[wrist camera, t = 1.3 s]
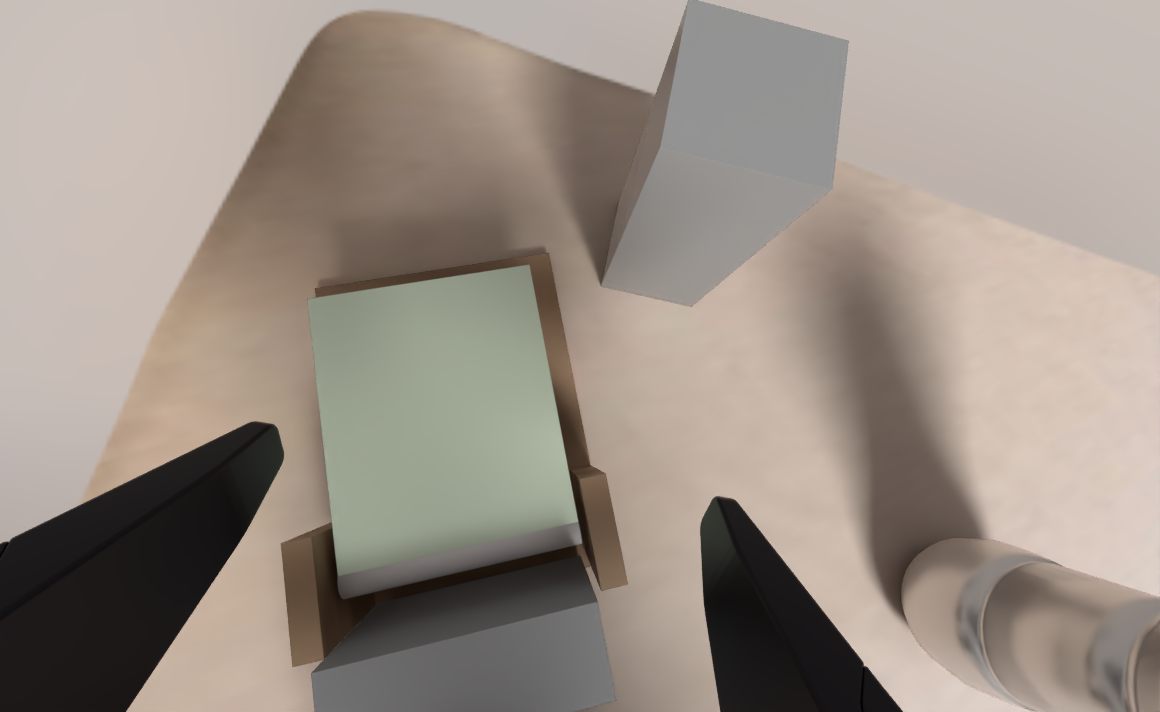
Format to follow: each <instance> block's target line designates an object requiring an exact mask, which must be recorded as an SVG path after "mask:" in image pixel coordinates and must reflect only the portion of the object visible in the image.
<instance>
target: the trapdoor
mask: <svg viewBox="0 0 1160 712" xmlns="http://www.w3.org/2000/svg"><path fill="white" fill-rule="evenodd" d="M307 302H308V311H309V320H310V329H311V338H312V348H313V357H314V366H315V375H316V384H317V393H318V402H319V411H320V420H321V429H322V438H323V447H324V456H325V465H326V474H327V483H328V492H329V501H330V510H331V519H332V528H333V537H334V546H335V555H336V564H337V573H338V581H337V583H338V591H339V594H340V596H341V598H342V599H347V598H352V597H356V596H360V595H364V594H369V593H373V592H377V591H382V590H386V589H390V588H394V587H399V586H403V585H407V584H412V583H416V582H420V581H424V580H429V579H433V578H437V577H442V576H446V575H450V574H454V573H459V572H463V571H467V570H472V569H476V568H480V567H484V566H489V565H493V564H497V563H502V562H506V561H510V560H514V559H519V558H523V557H527V556H532V555H536V554H540V553H544V552H549V551H553V550H557V549H562V548H566V547H570V546H574V545H579V544H582V539H581V533H580V528H579V523H578V518H577V512H576V507H575V502H574V497H573V491H572V486H571V481H570V476H569V470H568V465H567V460H566V455H565V449H564V444H563V439H562V434H561V428H560V423H559V418H558V413H557V407H556V402H555V397H554V391H553V386H552V381H551V376H550V370H549V365H548V360H547V355H546V349H545V344H544V339H543V334H542V328H541V323H540V318H539V313H538V307H537V302H536V297H535V292H534V286H533V281H532V276H531V271H530V265H524V266H517V267H511V268H504V269H498V270H492V271H485V272H479V273H472V274H466V275H459V276H453V277H446V278H440V279H433V280H427V281H420V282H414V283H408V284H401V285H395V286H388V287H382V288H375V289H369V290H362V291H356V292H349V293H343V294H336V295H330V296H324V297H317V298H311V299H307ZM311 678H312V688H313V698H314V708H315V712H577V711H580V710H584V709H587V708H591V707H595V706H598V705H602V704H605V703H609V702H612V701H616V696H615V690H614V685H613V680H612V675H611V669H610V664H609V659H608V654H607V649H606V643H605V638H604V633H603V628H602V622H601V617H600V612H599V607H598V602H597V599H596V596H595V593H594V591H593V588H592V585H591V583H590V580H589V577H588V574H587V572H586V569H585V566H584V563H583V561H582V558H581V555H580V556H576V557H572V558H568V559H563V560H559V561H555V562H551V563H546V564H542V565H538V566H534V567H530V568H525V569H521V570H517V571H513V572H508V573H504V574H500V575H496V576H491V577H487V578H483V579H479V580H475V581H470V582H466V583H462V584H458V585H453V586H449V587H445V588H441V589H436V590H432V591H428V592H424V593H420V594H415V595H411V596H407V597H403V598H398V599H394V600H390V601H386V602H381V603H378V604H377V605H376V606H375V607H374V608H373V609H372V610H371V611H370V612H369V613H368V614H367V615H366V616H365V617H364V618H363V619H362V621H361V622H360V623H359V624H358V625H357V626H356V627H355V628H354V629H353V630H352V631H351V632H350V633H349V634H348V635H347V636H346V637H345V638H344V639H343V640H342V642H341V643H340V644H339V645H338V646H337V647H336V648H335V649H334V650H333V651H332V652H331V653H330V654H329V655H328V656H327V657H326V658H325V659H324V660H323V661H322V662H321V664H320V665H319V666H318V667H317V668H316V669H315V670H314V671H313V672H312V673H311Z"/></svg>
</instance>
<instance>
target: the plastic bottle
mask: <svg viewBox="0 0 1160 712" xmlns="http://www.w3.org/2000/svg"><path fill="white" fill-rule="evenodd" d="M901 599H902V606H903V611H904V614H905V617H906V619H907V622H908V624H909V626H910V629H911V631H912V633H913V635H914V637H915V638H916V640H917V642H918V643H919V645H920V646H921V647H922V648H923V649H924V651H925V652H926V653H927V654H928V655H929V656H930V657H931V658H933V659H934V660H935V661H936V662H938V663H939V664H940V665H941V666H943V667H944V668H945V669H946V670H948V671H949V672H950V673H952V674H953V675H954V676H955V677H957V678H958V679H959V680H961V681H962V682H963V683H965V684H967V685H969V686H971V687H972V688H974V689H976V690H979V691H981V692H983V693H986V694H988V695H990V696H993V697H995V698H998V699H1000V700H1002V701H1005V702H1007V703H1010V704H1013V705H1016V706H1019V707H1022V708H1025V709H1028V710H1031V711H1035V712H1160V597H1158V596H1154V595H1151V594H1148V593H1145V592H1141V591H1138V590H1135V589H1132V588H1129V587H1126V586H1123V585H1119V584H1116V583H1113V582H1110V581H1107V580H1104V579H1101V578H1097V577H1094V576H1091V575H1088V574H1085V573H1082V572H1079V571H1075V570H1072V569H1069V568H1066V567H1063V566H1061V565H1059V564H1058V563H1056V562H1053V561H1051V560H1049V559H1047V558H1044V557H1042V556H1040V555H1037V554H1035V553H1032V552H1029V551H1026V550H1023V549H1021V548H1018V547H1015V546H1012V545H1009V544H1006V543H1003V542H999V541H996V540H986V539H969V538H951V539H944V540H942V541H939V542H937V543H934V544H933V545H931V546H929V547H928V548H926V549H925V550H923V551H922V552H920V553H919V554H918V555H917V556H916V557H915V558H914V559H913V560H912V561H911V563H910V564H909V566H908V568H907V569H906V572H905V575H904V578H903V582H902V588H901Z"/></svg>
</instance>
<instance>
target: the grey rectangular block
mask: <svg viewBox="0 0 1160 712" xmlns="http://www.w3.org/2000/svg"><path fill="white" fill-rule="evenodd" d="M848 43H849V41H848V40H844V39H840V38H836V37H833V36H829V35H825V34H821V33H818V32H814V31H810V30H806V29H802V28H799V27H795V26H791V25H788V24H784V23H780V22H776V21H772V20H769V19H765V18H761V17H758V16H754V15H750V14H746V13H743V12H739V11H735V10H731V9H727V8H724V7H720V6H716V5H713V4H709V3H705V2H701V1H698V0H688V3H687V6H686V9H685V12H684V14H683V17H682V20H681V23H680V26H679V29H678V32H677V35H676V37H675V40H674V43H673V46H672V49H671V52H670V55H669V58H668V60H667V64H666V66H665V69H664V72H663V75H662V78H661V81H660V84H659V86H658V89H657V92H656V95H655V98H654V101H653V104H652V107H651V109H650V112H649V115H648V118H647V121H646V124H645V127H644V130H643V132H642V135H641V138H640V141H639V144H638V147H637V150H636V153H635V156H634V158H633V161H632V164H631V167H630V170H629V173H628V176H627V179H626V182H625V184H624V187H623V190H622V193H621V196H620V199H619V202H618V207H617V211H616V216H615V221H614V226H613V231H612V235H611V240H610V245H609V250H608V255H607V260H606V264H605V269H604V274H603V279H602V284H601V286H602V287H607V288H611V289H615V290H620V291H624V292H628V293H633V294H637V295H642V296H646V297H650V298H655V299H659V300H663V301H668V302H672V303H676V304H681V305H685V306H689V307H692V306H693V305H694V304H696V303H697V302H698V301H699V300H700V299H702V298H703V297H704V296H705V295H706V294H708V293H709V292H710V291H711V290H712V289H714V288H715V287H716V286H717V285H718V284H720V283H721V282H722V281H723V280H724V279H725V278H727V277H728V276H729V275H730V274H731V273H733V272H734V271H735V270H736V269H737V268H739V267H740V266H741V265H742V264H743V263H745V262H746V261H747V260H748V259H749V258H751V257H752V256H753V255H754V254H755V253H757V252H758V251H759V250H760V249H761V248H763V247H764V246H765V245H766V244H767V243H768V242H770V241H771V240H772V239H773V238H774V237H776V236H777V235H778V234H779V233H780V232H782V231H783V230H784V229H785V228H786V227H788V226H789V225H790V224H791V223H792V222H794V221H795V220H796V219H797V218H798V217H800V216H801V215H802V214H803V213H804V212H805V211H807V210H808V209H809V208H810V207H811V206H813V205H814V204H815V203H816V202H817V201H819V200H820V199H821V198H822V197H823V196H825V195H826V194H827V193H828V192H829V191H831V190H832V187H833V178H834V169H835V160H836V151H837V142H838V133H839V124H840V115H841V106H842V97H843V88H844V79H845V70H846V61H847V52H848Z"/></svg>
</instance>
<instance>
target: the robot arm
mask: <svg viewBox="0 0 1160 712" xmlns="http://www.w3.org/2000/svg"><path fill="white" fill-rule="evenodd" d="M283 459H284V450H283V447H282V443H281V439H280V435H279V431H278V428H277V427H276V426H275V425H274V424H270V423H263V422H257V421H255V422H250V423H247V424H245V425H243V426H241V427H239V428H237V429H235V430H233V431H231V432H229V433H227V434H225V435H223V436H221V437H219V438H217V439H215V440H213V441H210V442H208V443H206V444H204V445H202V446H200V447H198V448H196V449H194V450H192V451H190V452H188V453H186V454H184V455H182V456H180V457H178V458H176V459H174V460H171V461H169V462H167V463H165V464H163V465H161V466H159V467H157V468H155V469H153V470H151V471H149V472H147V473H145V474H143V475H141V476H139V477H137V478H134V479H132V480H130V481H128V482H126V483H124V484H122V485H120V486H118V487H116V488H114V489H112V490H110V491H108V492H106V493H104V494H102V495H100V496H98V497H95V498H93V499H91V500H89V501H87V502H85V503H83V504H81V505H79V506H77V507H75V508H73V509H71V510H69V511H67V512H65V513H63V514H61V515H59V516H57V517H55V518H52V519H50V520H48V521H46V522H44V523H42V524H40V525H38V526H36V527H34V528H32V529H30V530H28V531H26V532H24V533H22V534H20V535H18V536H15V537H14V538H12V539H11V540H10V542H3V543H1V544H0V712H126V711H127V709H128V708H129V706H130V705H131V704H132V702H133V701H134V699H135V698H136V696H137V695H138V693H139V692H140V690H141V689H142V687H143V686H144V684H145V683H146V681H147V680H148V678H149V677H150V675H151V674H152V672H153V671H154V669H155V668H156V666H157V665H158V663H159V662H160V660H161V659H162V657H163V656H164V654H165V653H166V651H167V650H168V648H169V647H170V645H171V644H172V642H173V641H174V639H175V638H176V636H177V635H178V633H179V632H180V630H181V629H182V627H183V626H184V624H185V623H186V621H187V620H188V618H189V617H190V615H191V614H192V612H193V611H194V609H195V608H196V606H197V605H198V603H199V602H200V600H201V599H202V597H203V596H204V595H205V593H206V592H207V590H208V589H209V587H210V586H211V584H212V583H213V581H214V580H215V578H216V577H217V575H218V574H219V572H220V571H221V569H222V568H223V566H224V565H225V563H226V562H227V560H228V559H229V557H230V556H231V554H232V553H233V551H234V550H235V548H236V547H237V545H238V544H239V542H240V540H241V539H242V537H243V536H244V534H245V532H246V531H247V529H248V527H249V525H250V524H251V522H252V520H253V518H254V516H255V514H256V512H257V510H258V509H259V507H260V505H261V503H262V501H263V499H264V497H265V495H266V493H267V492H268V490H269V488H270V486H271V484H272V482H273V480H274V478H275V476H276V475H277V473H278V471H279V469H280V467H281V465H282V462H283ZM700 536H701V557H702V578H703V597H704V607H705V615H706V622H707V628H708V635H709V641H710V647H711V654H712V660H713V667H714V673H715V680H716V686H717V692H718V699H719V705H720V712H903V711H902V710H901V708H900V707H899V706H898V705H897V704H896V702H895V701H894V700H893V699H892V697H891V696H890V695H889V694H888V693H887V691H886V690H885V689H884V688H883V686H882V685H881V684H880V683H879V681H878V680H877V679H876V677H875V676H874V675H873V674H872V672H871V671H870V670H869V669H868V667H866V666H864V664H863V661H862V660H861V659H860V657H859V656H858V655H857V654H856V652H855V651H854V650H853V648H852V647H851V646H850V645H849V643H848V642H847V641H846V640H845V638H844V637H843V636H842V634H841V633H840V632H839V631H838V629H837V628H836V627H835V626H834V624H833V623H832V622H831V620H830V619H829V618H828V617H827V615H826V614H825V613H824V612H823V610H822V609H821V608H820V607H819V605H818V604H817V603H816V601H815V600H814V599H813V598H812V596H811V595H810V594H809V593H808V591H807V590H806V589H805V587H804V586H803V585H802V584H801V582H800V581H799V580H798V579H797V577H796V576H795V575H794V573H793V572H792V571H791V570H790V568H789V567H788V566H787V565H786V563H785V562H784V561H783V560H782V558H781V557H780V556H779V554H778V553H777V552H776V551H775V549H774V548H773V547H772V546H771V544H770V543H769V542H768V540H767V539H766V538H765V537H764V535H763V534H762V533H761V532H760V530H759V529H758V528H757V526H756V525H755V524H754V523H753V521H752V520H751V519H750V518H749V516H748V515H747V514H746V513H745V511H744V510H743V509H742V507H741V506H740V505H739V504H738V502H737V501H735V500H734V499H732V498H726V497H720V496H716V497H714V498H713V500H712V501H711V503H710V505H709V507H708V509H707V511H706V513H705V515H704V517H703V519H702V522H701V527H700Z"/></svg>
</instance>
